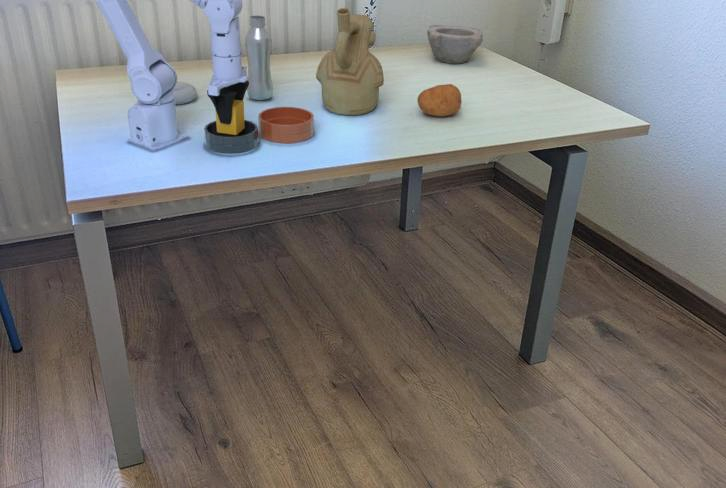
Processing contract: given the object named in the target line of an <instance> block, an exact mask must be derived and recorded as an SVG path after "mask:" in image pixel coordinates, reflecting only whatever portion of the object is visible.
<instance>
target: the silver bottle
mask: <svg viewBox="0 0 726 488" xmlns="http://www.w3.org/2000/svg"><path fill="white" fill-rule="evenodd" d="M266 25H267V22H266V17H265V16H264V15H251V16H249V26H250V28H248V29H249V30H248V31H247V33H246V35H245V37H244V44H245V49H246V55H247V65H248V68H247V77H248V80H247V81H249V86H248V88H247V90H246V92H247V95H248V97H249V98H250V99H252V100H256V101H263V100H269V99H270V98H271V97H272V95H273V91H274V85H273V80H272V74H271V63H270V62H271V53H272V44H273V43H272V41H273V39H272V36H271V34H270V33H269V31H268V30H267V28H266Z"/></svg>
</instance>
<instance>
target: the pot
mask: <svg viewBox="0 0 726 488" xmlns="http://www.w3.org/2000/svg"><path fill="white" fill-rule="evenodd" d="M244 122H245V128H244V129H243V130H242V131H241V132H240V133H238V134H237V135H232V134H225V133H218V132H217V125H216V120H214V121H211V122H208V123H207V124H206V125H204V128H203V132H204V144H205V147H206V148H207V149H208V150H210V151H211V152H214V153H217V154H224V155H236V154H242V153H247V152H251V151H253V150H254V149H256V148H257V147H258V146H259V126H258V124H256V123H255V122H253V121H250V120H247V119H244Z"/></svg>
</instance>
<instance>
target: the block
mask: <svg viewBox="0 0 726 488" xmlns="http://www.w3.org/2000/svg"><path fill="white" fill-rule="evenodd" d="M244 102H245V101H244V100H243V101H241V100H234V101H233V106H232V119H231V123H230V124H224V123H220V120H219V117H218V114H217V111H216V109H215V121H216V125H217V132H218V133H225V134H232V135H237V134H238V133H240V132H241V131H242V130H243V129H244V128H245V122H244V120H245V103H244Z"/></svg>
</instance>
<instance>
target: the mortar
mask: <svg viewBox="0 0 726 488" xmlns="http://www.w3.org/2000/svg"><path fill="white" fill-rule="evenodd" d="M427 39H428V43H429V46H430V49H431V51H432V53H433V55H434V57H435V59H436V60H437V61H439V62H441V63H446V64H452V65H455V64H457V65H458V64H463V63H465V62H467V61H468V60H469V59H470V58H471V57H472V56H473V54H474V53H475V52H476V51H477V49H478V48H479V47H480V46H481V45H482V43H483V41H484V40H483V39H484V38H483V32H482V31H481V30H480V29H479V28H477V27H466V26H460V25H441V24H432V25H429V26H428V28H427Z"/></svg>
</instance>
